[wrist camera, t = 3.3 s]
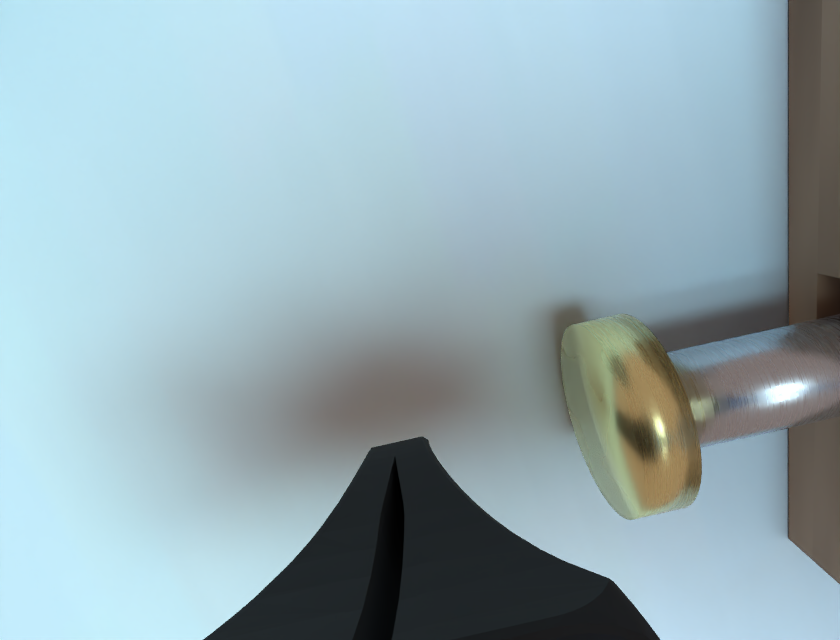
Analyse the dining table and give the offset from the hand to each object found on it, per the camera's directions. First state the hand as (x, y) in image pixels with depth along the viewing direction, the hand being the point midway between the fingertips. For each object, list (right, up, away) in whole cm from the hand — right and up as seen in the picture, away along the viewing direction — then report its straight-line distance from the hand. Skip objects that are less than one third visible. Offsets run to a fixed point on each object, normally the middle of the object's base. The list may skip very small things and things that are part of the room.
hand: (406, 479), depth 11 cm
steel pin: (+9, +3, +3) cm, 10 cm away
